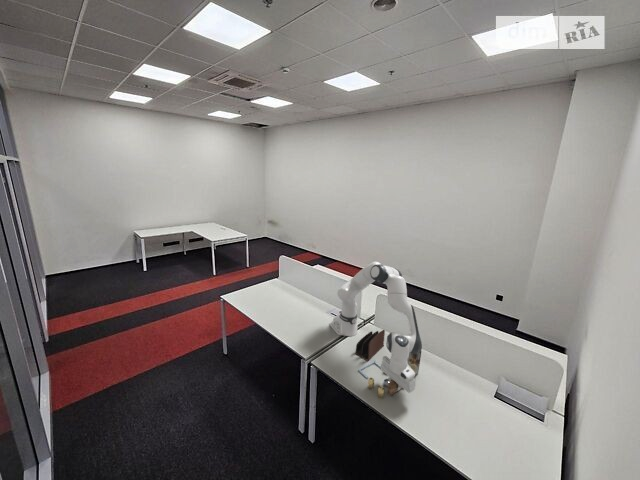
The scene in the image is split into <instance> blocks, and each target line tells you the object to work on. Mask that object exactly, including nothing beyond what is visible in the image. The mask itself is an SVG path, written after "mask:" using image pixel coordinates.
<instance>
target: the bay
mask: <svg viewBox="0 0 640 480" xmlns="http://www.w3.org/2000/svg"><path fill="white" fill-rule="evenodd" d="M374 364H375V365H376V366H377V367H379V368H380V369H381V364H379V363H378V362H376V360H374V361H371V362H369V363H368V364H366V365H364V366H363V367H361V368H359V369H358V370H357V371H358V372H359V373H360V374H361V375H362V376H363V378H364V377H365V379H367V380H369V376H367V375H366V373H364V372H363V370H365V369H366V368H369V367H370V366H372V365H374Z"/></svg>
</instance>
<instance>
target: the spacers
mask: <svg viewBox="0 0 640 480" xmlns="http://www.w3.org/2000/svg"><path fill="white" fill-rule="evenodd" d="M374 385H375V379H374V378H373V377H368V383H367V388H368V389H369V390H374V388H375V387H374ZM384 392H385V387H383V386H382V385H379V386H378V389H377V398H378V399H380V400H381V399H383V398H384Z"/></svg>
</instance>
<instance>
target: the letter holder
mask: <svg viewBox="0 0 640 480" xmlns="http://www.w3.org/2000/svg"><path fill="white" fill-rule="evenodd" d="M385 332H386V330H385V329H383V330H381V331H378V330H376V331H375V332H373V331H370V332H368V333H367V334H366V335H364V336H363V337H362V338H361V339H360V340H358V342H357V343H356V346H355V355H357V356H359V357H360V358H362V359H364V360H366V361H367V362H369V361H371V359H373V357H374V356H375V355H376V354H377V353H378V352H379V351H380V350H382V348H383V347H384V346H385V345H384V344H385V343H384V342H385V335H386V334H385Z"/></svg>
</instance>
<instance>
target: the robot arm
mask: <svg viewBox="0 0 640 480" xmlns="http://www.w3.org/2000/svg"><path fill="white" fill-rule="evenodd" d="M374 282H377V283H381V284H385V286H387V293H386V295H387V297H386V299H387V303H388V306H390V308H391V309H393V310H394V311H396V312H399V313H401V314H403V316H405V317H406V319H407V321H408V327H409V333H402V332H401V333H400V332H390V333H389V334H387V336H386V348H387V351H389V353H391V356H390V357H388V356H387V355H383V356H382V361H381V364H380V366H381V368H380V370H381V371H382V372H383V373H384V374H385V375H387V376H388V377H389V378H388V379H390V381H393V380H394V381H395V382H396V383H397V384H398V386H396V389H397V390H398V391H399V392H400V390H401V389H404V390H405V391H406V392H407V393H409V394H411V393H413V392H414V391H415V389H416V388H415V387H416V379H415V376H416V374H415V372H414V371H413V370H412V369H411V367H410V366H409V365H408V361H407V359H408V357H409V353H412V354H417V353H419V352H420V351H421V352H422V349H423V344H422V343H423V342H422V339H421V336H420V331H419V325H418V321H417V317H416V312H415V308H414V306H413V305H412V304H411V303H410V302H409V299H408V289H407V282H406V279H405V278H404V277H403V274H402V273H401V271H400V270H399V269H397V268H394V267H392V266H389V265H384V264H382V263H381V262H379V261H372V262H370V263H368V264H367V265H366V266H364V267H363V268H362V269H360V270H359V272H356V274H355V275H354V276H353V277H352V278H350V280H348V281H347V282H345V283H344V284H342V285H341V286H340V287H339V289H338V290H337V292H336V293H337V294H336V295H337V297H338V299H339V300H340V302H341V310H340V311H338V314H337V315H335V316H334V317H333V319H332V320H331V321H330V322H329V326H330V328H331V329H333V331H334V332H335V333H336V334H337V335H338V336H345V337H354V336H356V335H357V333H358V328H359V327H358V320H357V319H358V312H357V311H358V303H357V302H356V300H355V299H356V296H357V295H358V294H359V293H361V292H362V291H363V290H364V289H366V288H367V287H369V286H370V285H372V284H373V283H374ZM401 387H402V388H401ZM400 388H401V389H400ZM398 391H397V392H398Z"/></svg>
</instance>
